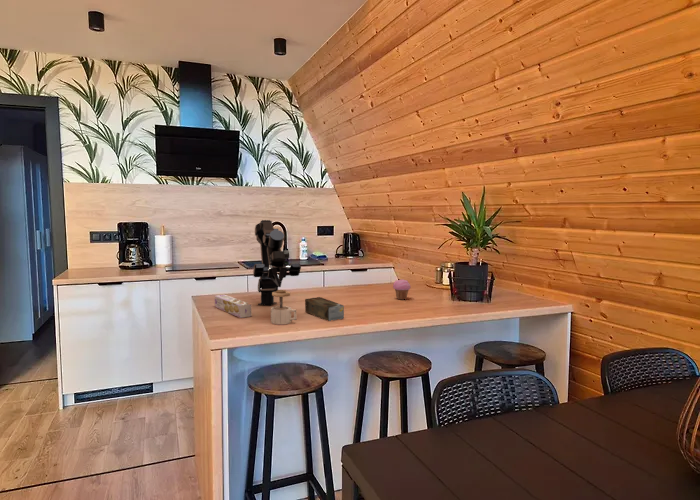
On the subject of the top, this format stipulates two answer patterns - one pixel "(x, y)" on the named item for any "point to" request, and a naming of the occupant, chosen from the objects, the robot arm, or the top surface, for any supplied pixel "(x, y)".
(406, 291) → the cupcake
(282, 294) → the plunger
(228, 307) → the box
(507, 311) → the top surface
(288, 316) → the press pot
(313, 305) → the beverage carton
